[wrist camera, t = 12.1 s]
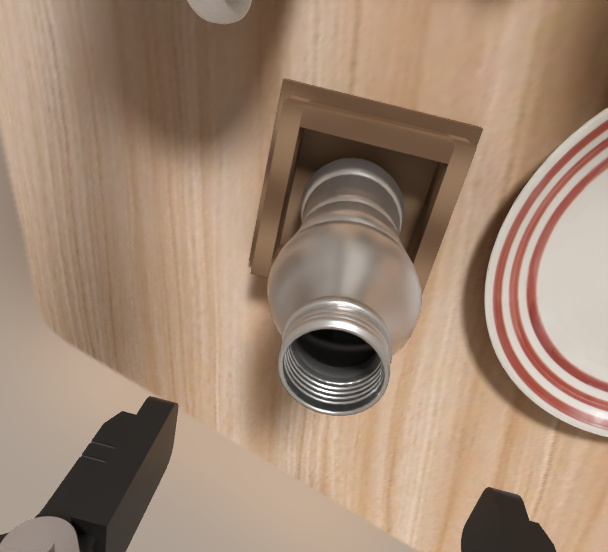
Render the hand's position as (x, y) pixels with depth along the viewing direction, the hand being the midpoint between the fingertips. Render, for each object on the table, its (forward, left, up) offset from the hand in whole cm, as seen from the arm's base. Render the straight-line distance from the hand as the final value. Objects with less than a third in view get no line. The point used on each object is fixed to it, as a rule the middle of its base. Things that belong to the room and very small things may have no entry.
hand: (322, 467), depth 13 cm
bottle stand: (0, 0, -25) cm, 25 cm away
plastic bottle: (0, 0, -24) cm, 24 cm away
